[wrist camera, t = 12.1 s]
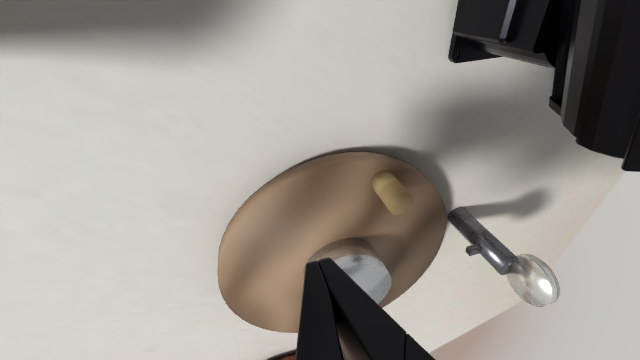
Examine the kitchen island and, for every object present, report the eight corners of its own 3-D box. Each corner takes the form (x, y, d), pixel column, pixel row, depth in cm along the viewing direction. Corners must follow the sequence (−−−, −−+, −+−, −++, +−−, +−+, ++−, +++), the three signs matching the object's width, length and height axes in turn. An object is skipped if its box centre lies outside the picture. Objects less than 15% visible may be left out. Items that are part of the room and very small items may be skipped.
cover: (388, 240, 26) (405, 266, 23) (357, 291, 29) (369, 319, 26) (319, 234, 23) (330, 263, 20) (292, 291, 26) (299, 322, 23)
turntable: (476, 171, 26) (516, 201, 22) (383, 313, 36) (400, 349, 32) (242, 127, 18) (247, 162, 14) (204, 326, 28) (200, 377, 24)
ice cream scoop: (469, 197, 29) (569, 283, 20) (460, 226, 31) (547, 313, 23) (442, 204, 28) (533, 295, 20) (435, 233, 31) (514, 325, 22)
